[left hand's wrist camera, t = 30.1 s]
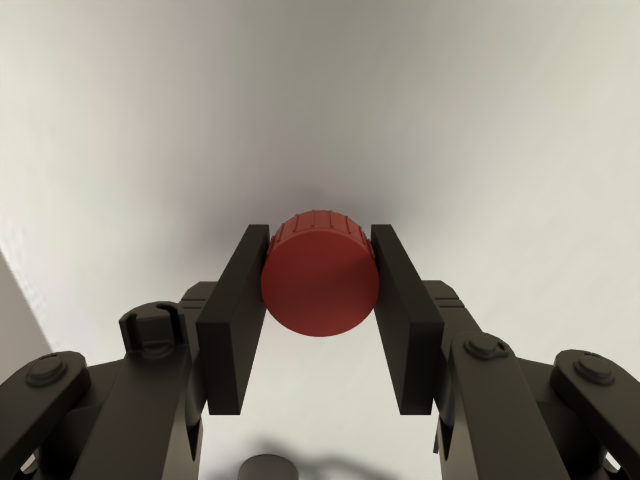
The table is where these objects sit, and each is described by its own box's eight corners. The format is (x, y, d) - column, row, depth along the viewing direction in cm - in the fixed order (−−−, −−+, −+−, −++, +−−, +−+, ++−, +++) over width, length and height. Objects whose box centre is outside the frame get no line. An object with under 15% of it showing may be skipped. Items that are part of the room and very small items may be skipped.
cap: (349, 315, 15) (353, 351, 13) (255, 286, 15) (244, 318, 13) (389, 229, 14) (401, 254, 12) (286, 193, 13) (280, 212, 11)
